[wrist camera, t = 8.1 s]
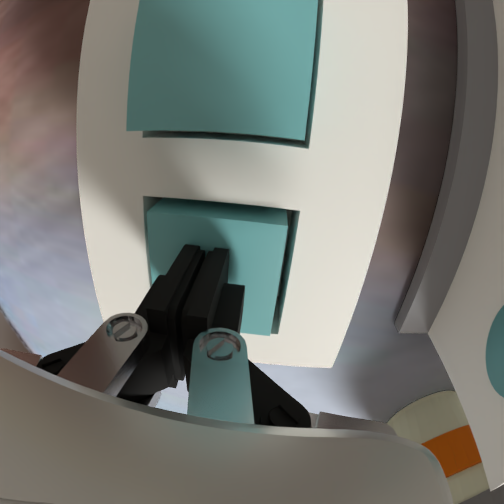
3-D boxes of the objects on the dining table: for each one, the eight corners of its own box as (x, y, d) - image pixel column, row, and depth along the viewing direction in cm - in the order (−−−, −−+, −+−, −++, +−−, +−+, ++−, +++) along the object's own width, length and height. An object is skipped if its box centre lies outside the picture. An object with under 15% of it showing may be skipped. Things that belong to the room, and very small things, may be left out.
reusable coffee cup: (380, 396, 21) (407, 553, 7) (489, 365, 19) (540, 483, 6) (360, 450, 26) (370, 558, 13) (450, 427, 24) (475, 520, 11)
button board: (370, -85, 5) (388, -117, 2) (323, 319, 17) (331, 368, 14) (162, -93, 6) (139, -123, 2) (134, 295, 17) (107, 335, 14)
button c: (284, 198, 13) (288, 225, 10) (271, 291, 15) (269, 336, 12) (175, 187, 13) (146, 211, 10) (178, 279, 15) (156, 319, 12)
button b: (307, 14, 8) (319, -21, 5) (295, 133, 10) (304, 140, 7) (177, 11, 8) (143, -19, 5) (166, 124, 10) (126, 131, 7)
